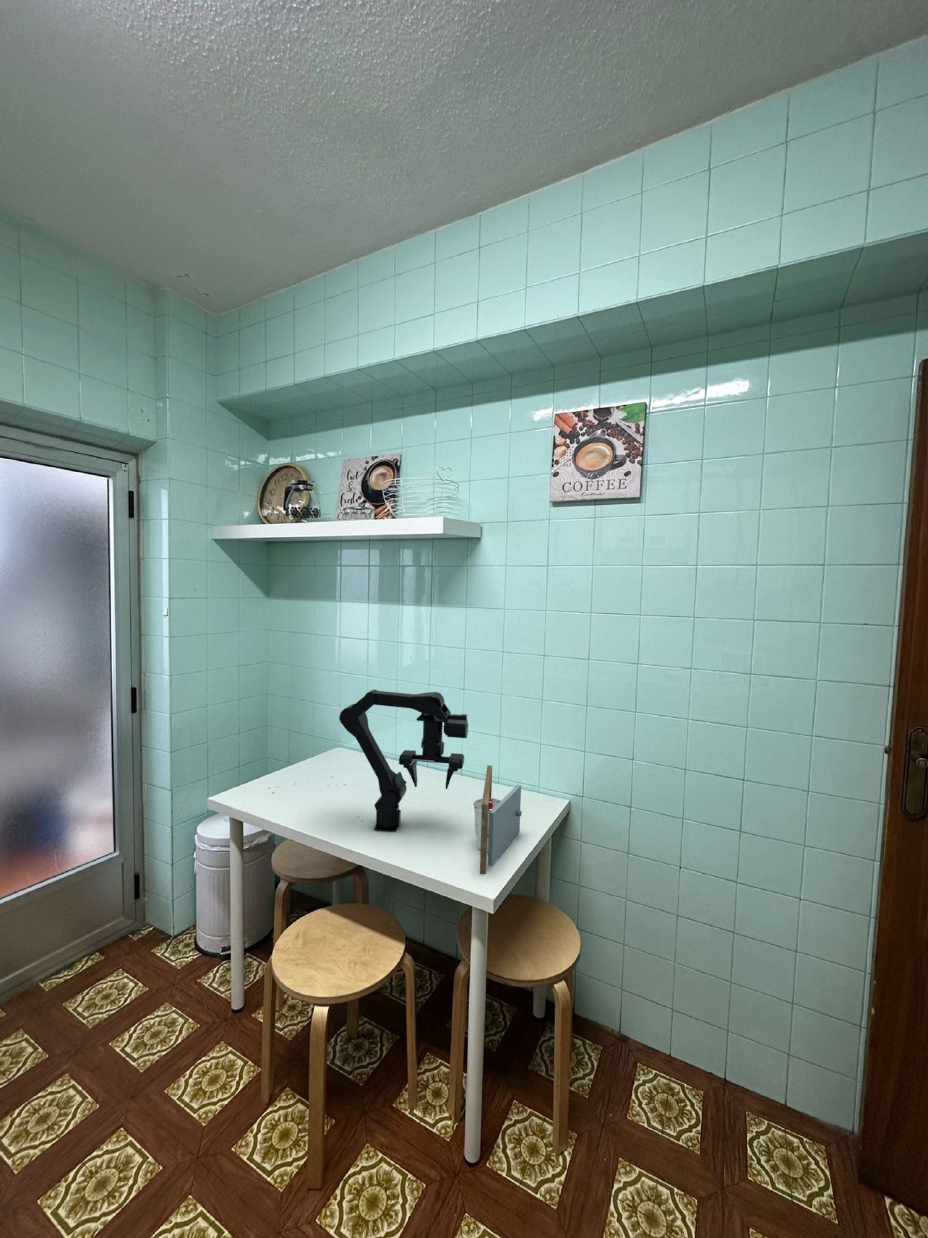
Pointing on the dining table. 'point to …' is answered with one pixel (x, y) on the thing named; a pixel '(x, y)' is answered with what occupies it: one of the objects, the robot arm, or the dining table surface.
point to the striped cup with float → (478, 814)
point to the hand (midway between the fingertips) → (431, 787)
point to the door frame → (485, 819)
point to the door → (504, 824)
